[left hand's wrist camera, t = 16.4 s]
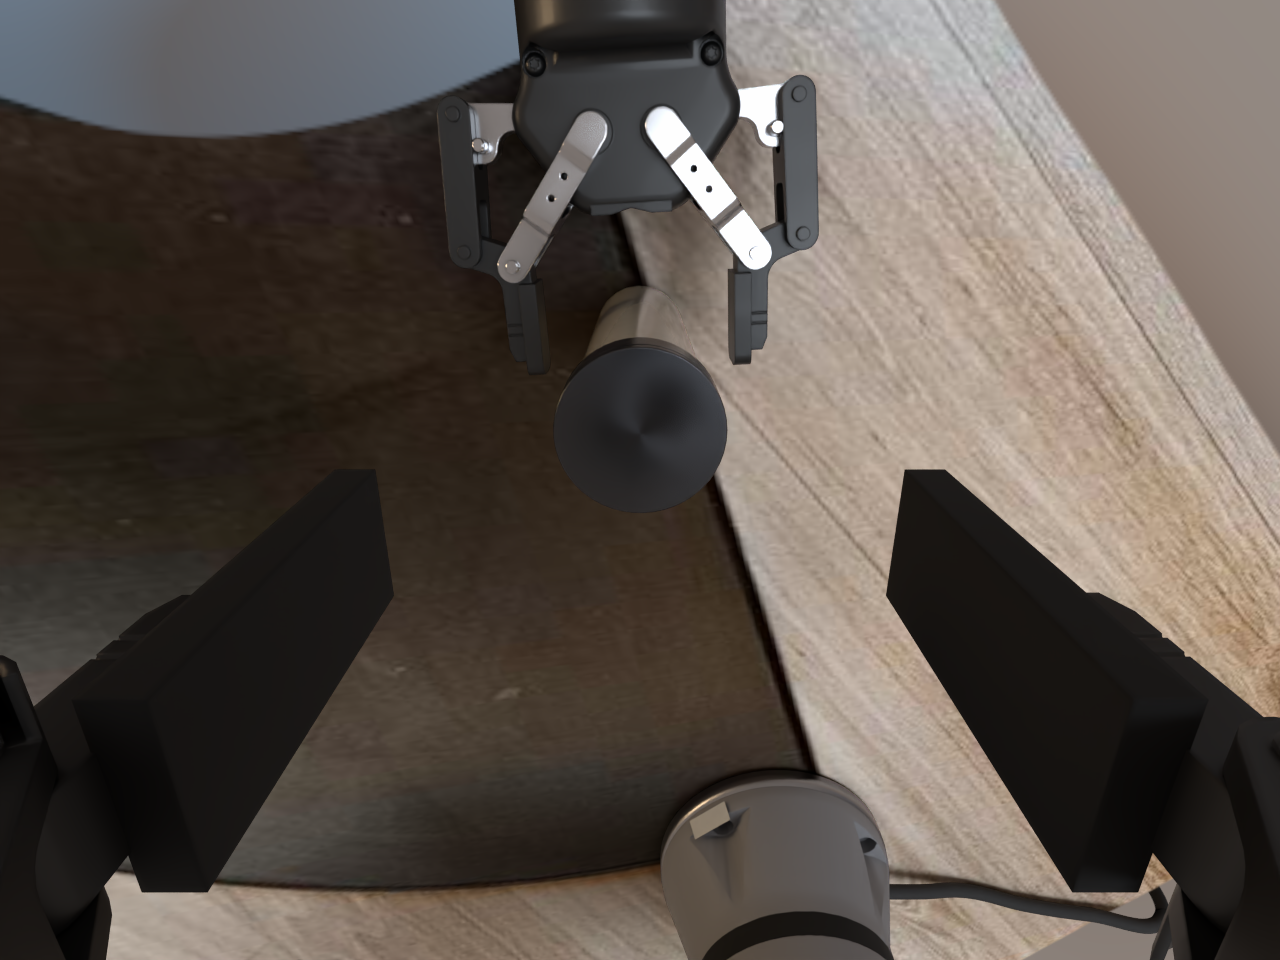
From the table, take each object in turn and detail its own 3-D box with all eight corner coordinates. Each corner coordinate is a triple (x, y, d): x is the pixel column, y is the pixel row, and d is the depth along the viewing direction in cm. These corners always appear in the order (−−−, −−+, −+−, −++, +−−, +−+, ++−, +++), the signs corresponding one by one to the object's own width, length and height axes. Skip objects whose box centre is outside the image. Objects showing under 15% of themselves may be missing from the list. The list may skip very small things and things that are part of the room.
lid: (738, 468, 21) (745, 487, 20) (589, 510, 22) (585, 532, 21) (696, 314, 20) (701, 323, 18) (536, 365, 20) (528, 377, 19)
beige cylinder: (692, 357, 36) (733, 476, 20) (612, 382, 36) (592, 516, 21) (669, 274, 34) (693, 332, 19) (585, 300, 35) (542, 379, 19)
